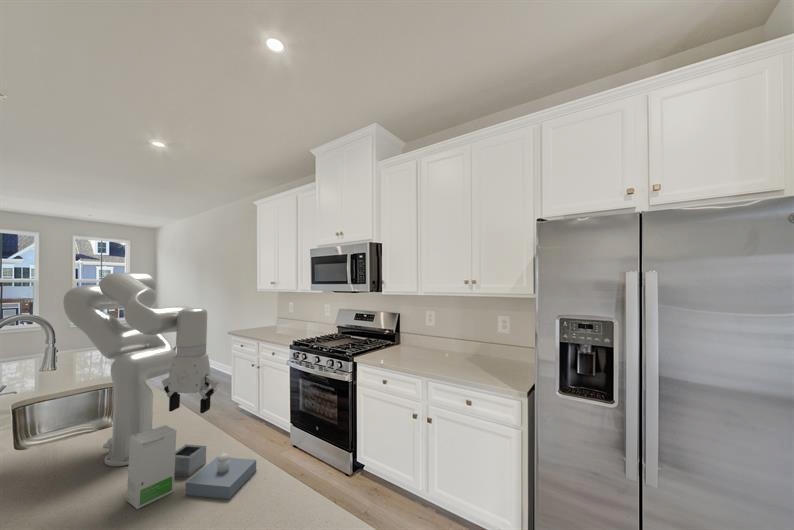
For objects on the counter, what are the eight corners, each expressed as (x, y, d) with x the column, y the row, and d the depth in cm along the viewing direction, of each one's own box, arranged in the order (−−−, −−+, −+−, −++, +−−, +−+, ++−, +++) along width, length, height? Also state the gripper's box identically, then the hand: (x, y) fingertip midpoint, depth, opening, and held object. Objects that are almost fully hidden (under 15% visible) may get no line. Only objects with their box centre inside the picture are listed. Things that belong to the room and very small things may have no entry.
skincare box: (136, 511, 76) (138, 443, 76) (124, 500, 79) (127, 436, 80) (175, 491, 83) (177, 429, 84) (163, 482, 87) (165, 423, 87)
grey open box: (167, 474, 90) (167, 456, 90) (185, 461, 96) (186, 444, 96) (188, 476, 89) (189, 458, 89) (205, 463, 95) (206, 446, 96)
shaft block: (185, 494, 82) (186, 464, 82) (217, 467, 94) (218, 441, 94) (229, 499, 80) (230, 468, 80) (256, 470, 92) (256, 444, 92)
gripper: (153, 352, 91) (151, 414, 91) (209, 354, 89) (208, 417, 88) (174, 347, 99) (172, 403, 98) (227, 348, 97) (225, 406, 96)
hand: (189, 410), depth 93 cm, fingers open, 9 cm apart
